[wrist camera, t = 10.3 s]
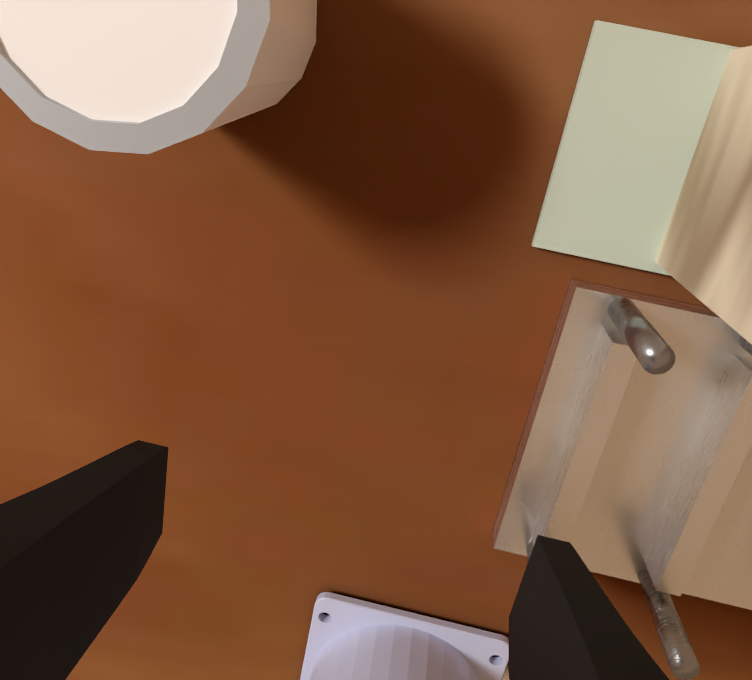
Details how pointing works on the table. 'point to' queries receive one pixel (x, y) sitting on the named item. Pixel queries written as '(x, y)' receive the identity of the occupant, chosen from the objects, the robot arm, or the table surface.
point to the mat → (628, 143)
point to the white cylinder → (150, 65)
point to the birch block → (718, 205)
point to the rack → (641, 453)
